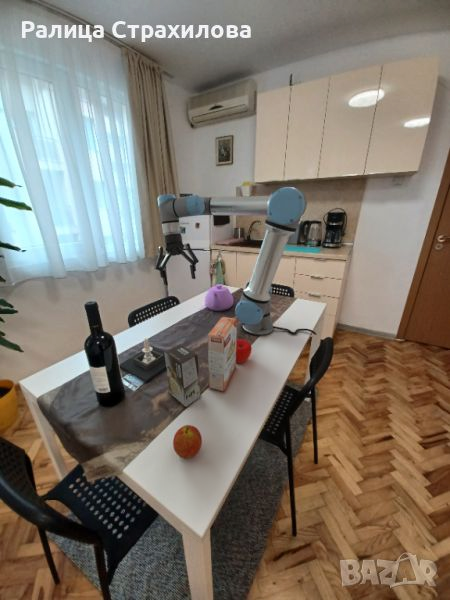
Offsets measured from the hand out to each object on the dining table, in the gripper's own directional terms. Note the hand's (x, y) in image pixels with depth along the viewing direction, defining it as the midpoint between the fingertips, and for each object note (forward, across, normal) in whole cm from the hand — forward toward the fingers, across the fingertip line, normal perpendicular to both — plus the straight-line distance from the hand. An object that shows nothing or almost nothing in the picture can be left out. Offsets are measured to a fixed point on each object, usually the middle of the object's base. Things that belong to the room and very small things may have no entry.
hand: (180, 281), depth 109 cm
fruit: (+33, +26, +54) cm, 68 cm away
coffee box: (+30, +18, +36) cm, 50 cm away
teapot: (+24, -29, -20) cm, 42 cm away
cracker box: (+31, +3, +36) cm, 47 cm away
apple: (+30, -8, +31) cm, 44 cm away
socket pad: (+27, +23, +13) cm, 38 cm away
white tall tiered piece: (+26, +23, +13) cm, 37 cm away
